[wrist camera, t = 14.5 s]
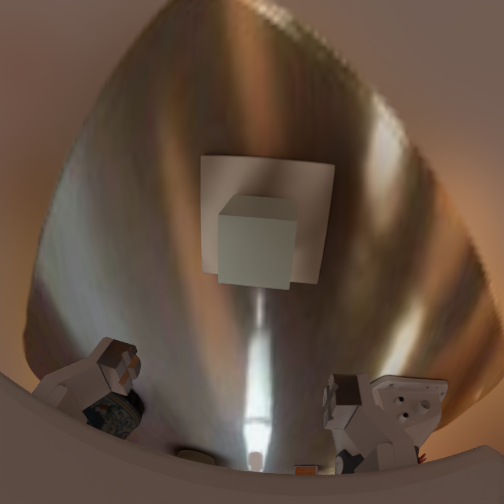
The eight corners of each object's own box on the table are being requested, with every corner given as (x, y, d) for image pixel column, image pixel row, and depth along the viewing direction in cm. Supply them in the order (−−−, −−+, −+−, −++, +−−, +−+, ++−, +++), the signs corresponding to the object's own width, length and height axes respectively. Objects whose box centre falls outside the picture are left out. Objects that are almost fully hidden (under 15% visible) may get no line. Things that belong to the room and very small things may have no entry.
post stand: (332, 164, 24) (349, 177, 18) (316, 278, 29) (322, 320, 23) (204, 154, 25) (176, 164, 19) (205, 267, 30) (184, 305, 24)
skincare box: (318, 464, 51) (317, 505, 40) (315, 469, 53) (314, 508, 42) (293, 465, 51) (290, 506, 41) (291, 470, 53) (289, 509, 42)
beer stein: (146, 388, 43) (94, 504, 20) (146, 428, 51) (112, 514, 29) (71, 352, 42) (7, 445, 20) (85, 399, 51) (43, 475, 28)
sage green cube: (295, 199, 24) (297, 221, 18) (288, 255, 26) (288, 289, 21) (233, 194, 24) (218, 214, 19) (232, 250, 27) (218, 282, 21)
